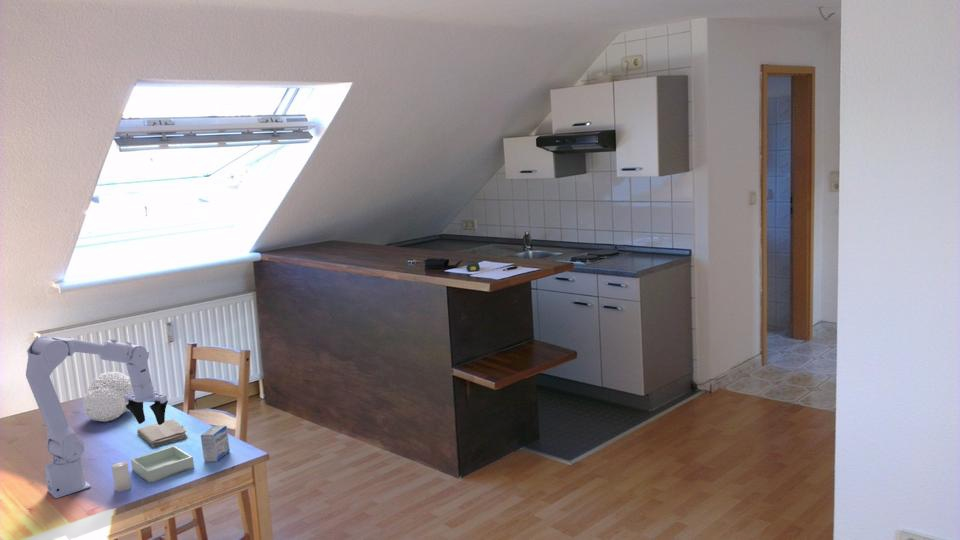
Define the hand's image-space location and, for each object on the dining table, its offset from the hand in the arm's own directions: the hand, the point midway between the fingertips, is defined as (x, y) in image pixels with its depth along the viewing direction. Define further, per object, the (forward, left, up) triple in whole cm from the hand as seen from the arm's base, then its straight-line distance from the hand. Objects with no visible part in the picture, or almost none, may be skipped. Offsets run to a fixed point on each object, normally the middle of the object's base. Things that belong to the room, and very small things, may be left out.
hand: (151, 422), depth 245 cm
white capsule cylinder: (-16, -17, -11) cm, 25 cm away
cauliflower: (+4, +49, -11) cm, 51 cm away
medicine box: (+12, -17, -11) cm, 23 cm away
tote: (-3, -13, -11) cm, 17 cm away
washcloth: (+8, +15, -11) cm, 21 cm away
